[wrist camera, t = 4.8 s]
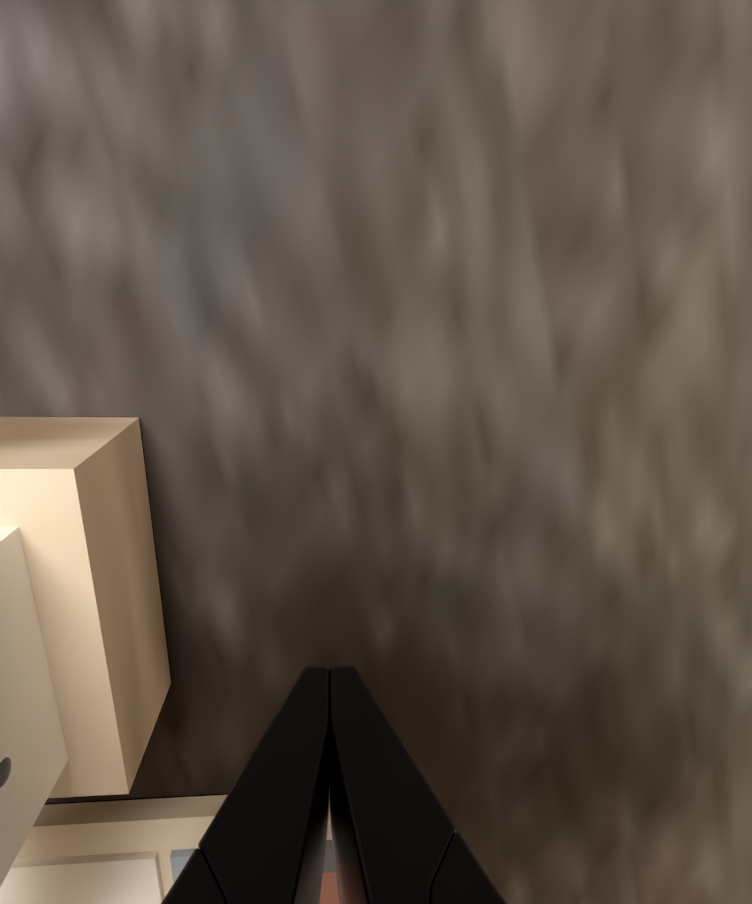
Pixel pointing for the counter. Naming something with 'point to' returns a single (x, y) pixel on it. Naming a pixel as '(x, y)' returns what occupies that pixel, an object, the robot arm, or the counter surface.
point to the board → (113, 851)
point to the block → (90, 587)
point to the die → (23, 706)
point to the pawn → (329, 889)
